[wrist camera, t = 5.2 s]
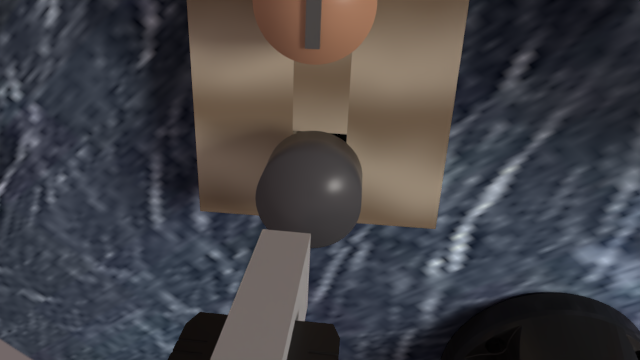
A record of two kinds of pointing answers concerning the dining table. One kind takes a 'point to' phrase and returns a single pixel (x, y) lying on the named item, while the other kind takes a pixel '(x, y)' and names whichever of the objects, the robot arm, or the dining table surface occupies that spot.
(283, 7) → the orange knob middle
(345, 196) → the black knob
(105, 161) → the dining table surface
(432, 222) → the mount
